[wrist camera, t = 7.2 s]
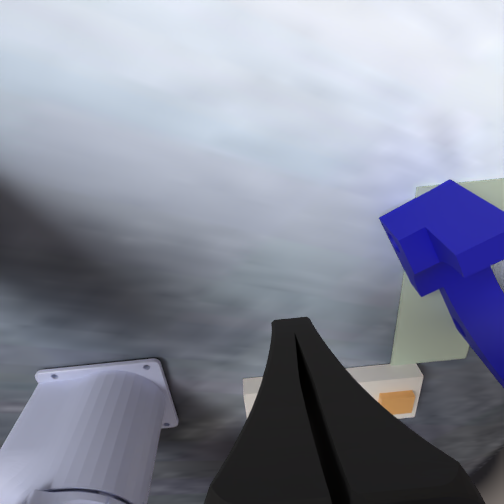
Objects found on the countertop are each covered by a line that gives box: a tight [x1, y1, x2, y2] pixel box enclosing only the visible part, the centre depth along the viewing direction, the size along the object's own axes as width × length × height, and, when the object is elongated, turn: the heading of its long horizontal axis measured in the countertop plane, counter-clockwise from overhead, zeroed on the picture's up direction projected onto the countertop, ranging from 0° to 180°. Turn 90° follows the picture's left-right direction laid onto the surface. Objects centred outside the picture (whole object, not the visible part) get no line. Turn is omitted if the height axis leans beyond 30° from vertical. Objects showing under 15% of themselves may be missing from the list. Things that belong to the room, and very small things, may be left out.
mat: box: [390, 178, 504, 366], centre depth 25 cm, size 6×15×1 cm, turn 5°
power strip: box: [243, 363, 424, 419], centre depth 29 cm, size 14×5×2 cm, turn 95°
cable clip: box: [379, 180, 504, 388], centre depth 21 cm, size 12×4×6 cm, turn 32°
